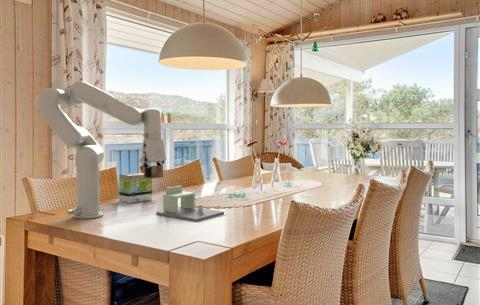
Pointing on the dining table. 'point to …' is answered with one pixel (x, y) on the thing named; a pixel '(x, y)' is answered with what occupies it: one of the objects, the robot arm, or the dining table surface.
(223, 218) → the dining table surface
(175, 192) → the cover
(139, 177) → the tea box
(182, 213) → the board
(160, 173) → the wooden crate
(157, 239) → the dining table surface
